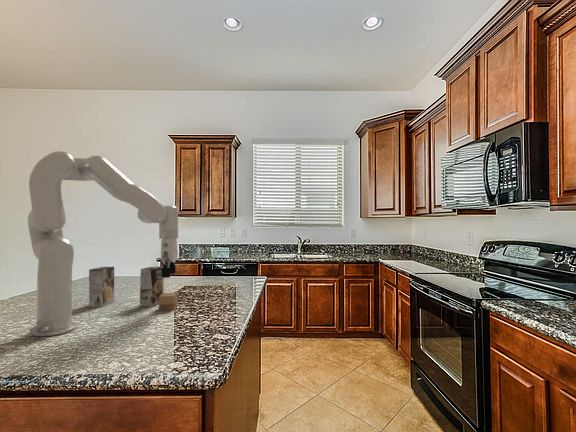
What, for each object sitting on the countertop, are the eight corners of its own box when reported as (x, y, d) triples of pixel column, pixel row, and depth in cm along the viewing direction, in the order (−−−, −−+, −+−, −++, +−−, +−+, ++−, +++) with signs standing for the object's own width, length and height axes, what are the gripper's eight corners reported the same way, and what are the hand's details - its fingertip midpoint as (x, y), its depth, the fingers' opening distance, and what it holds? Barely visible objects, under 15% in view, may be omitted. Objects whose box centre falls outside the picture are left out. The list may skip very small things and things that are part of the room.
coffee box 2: (153, 306, 143) (153, 269, 143) (139, 306, 144) (139, 268, 144) (164, 301, 152) (164, 266, 152) (151, 301, 153) (151, 266, 153)
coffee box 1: (100, 301, 152) (101, 266, 152) (114, 301, 152) (114, 266, 152) (88, 306, 143) (88, 269, 143) (103, 306, 143) (103, 269, 143)
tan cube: (173, 310, 137) (174, 295, 137) (158, 310, 137) (158, 296, 137) (177, 306, 143) (177, 292, 143) (162, 307, 143) (162, 293, 143)
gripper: (173, 235, 132) (173, 278, 132) (182, 234, 150) (182, 272, 149) (153, 236, 132) (153, 279, 131) (164, 234, 149) (164, 272, 149)
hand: (168, 275), depth 140 cm, fingers open, 9 cm apart
